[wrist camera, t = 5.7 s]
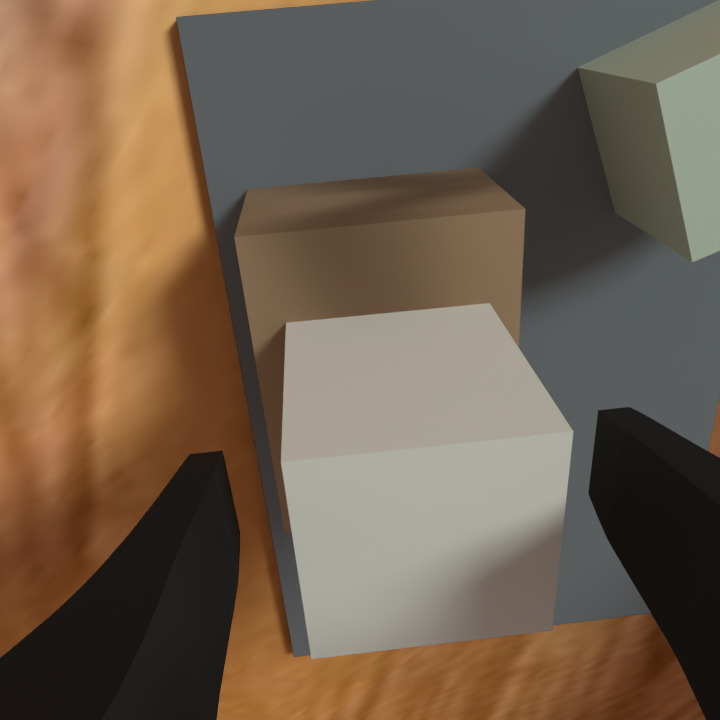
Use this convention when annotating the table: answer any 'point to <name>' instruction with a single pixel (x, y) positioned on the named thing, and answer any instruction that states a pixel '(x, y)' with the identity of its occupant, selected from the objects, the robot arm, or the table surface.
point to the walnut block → (372, 260)
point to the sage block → (663, 130)
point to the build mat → (507, 169)
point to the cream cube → (420, 480)
